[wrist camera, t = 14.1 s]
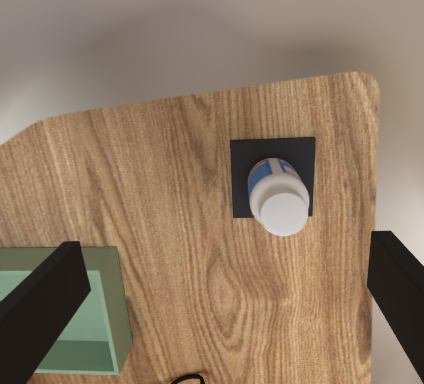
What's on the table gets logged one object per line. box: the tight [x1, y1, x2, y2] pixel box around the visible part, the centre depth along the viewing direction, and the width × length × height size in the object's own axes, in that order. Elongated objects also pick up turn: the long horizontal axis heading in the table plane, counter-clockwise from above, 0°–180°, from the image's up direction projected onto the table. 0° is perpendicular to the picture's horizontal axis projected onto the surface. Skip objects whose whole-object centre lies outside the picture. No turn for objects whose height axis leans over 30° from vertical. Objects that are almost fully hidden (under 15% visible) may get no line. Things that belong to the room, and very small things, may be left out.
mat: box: [230, 137, 316, 218], centre depth 37 cm, size 9×9×1 cm
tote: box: [0, 247, 133, 375], centre depth 43 cm, size 15×21×6 cm
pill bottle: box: [248, 158, 309, 236], centre depth 32 cm, size 6×5×10 cm
